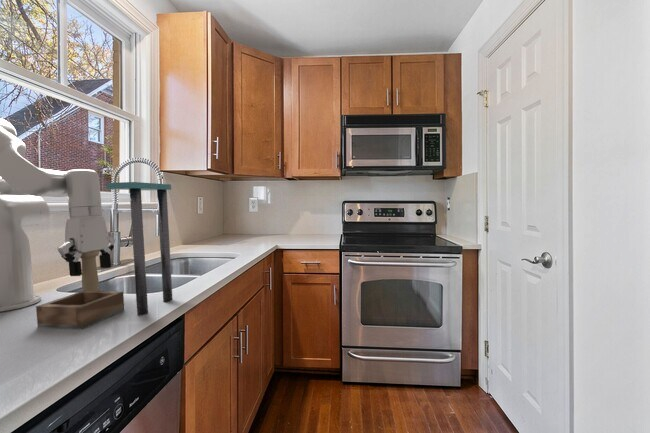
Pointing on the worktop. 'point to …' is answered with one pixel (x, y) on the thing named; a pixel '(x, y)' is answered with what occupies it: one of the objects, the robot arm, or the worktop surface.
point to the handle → (89, 271)
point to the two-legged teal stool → (139, 239)
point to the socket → (79, 309)
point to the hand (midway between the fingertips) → (91, 271)
